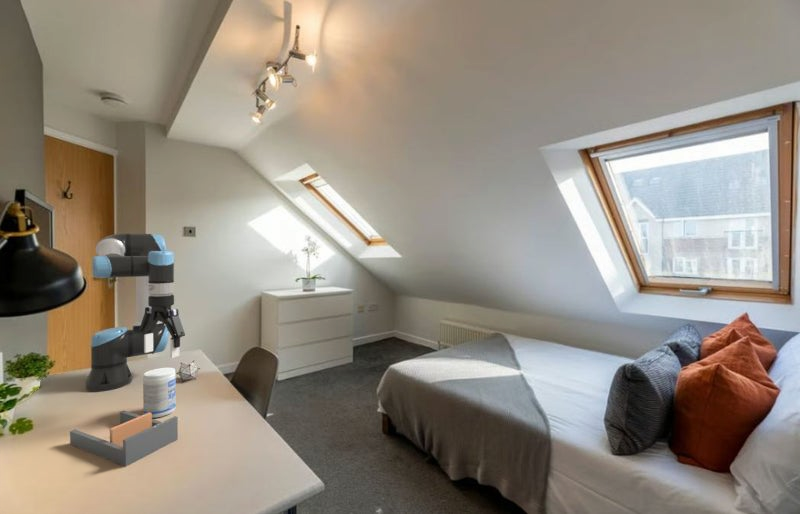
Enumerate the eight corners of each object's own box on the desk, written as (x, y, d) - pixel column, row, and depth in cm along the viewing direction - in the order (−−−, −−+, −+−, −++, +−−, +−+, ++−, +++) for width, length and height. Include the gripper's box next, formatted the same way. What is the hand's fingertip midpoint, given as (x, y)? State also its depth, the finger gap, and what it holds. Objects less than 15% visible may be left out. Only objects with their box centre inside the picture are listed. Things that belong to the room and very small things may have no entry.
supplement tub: (175, 414, 123) (175, 373, 122) (142, 421, 117) (142, 378, 117) (175, 404, 131) (175, 365, 130) (144, 410, 126) (143, 369, 125)
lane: (70, 444, 104) (69, 421, 103) (123, 422, 117) (123, 401, 117) (125, 466, 94) (125, 440, 94) (177, 439, 107) (177, 416, 107)
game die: (182, 389, 153) (167, 372, 152) (198, 376, 161) (183, 359, 159) (193, 383, 149) (177, 365, 148) (208, 369, 157) (193, 352, 155)
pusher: (110, 453, 99) (109, 428, 99) (149, 434, 109) (149, 412, 109) (119, 456, 98) (119, 432, 98) (158, 437, 108) (158, 415, 108)
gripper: (126, 293, 124) (127, 352, 125) (175, 298, 115) (176, 362, 116) (148, 291, 131) (148, 347, 132) (196, 295, 122) (196, 355, 123)
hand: (161, 354), depth 124 cm, fingers open, 13 cm apart
